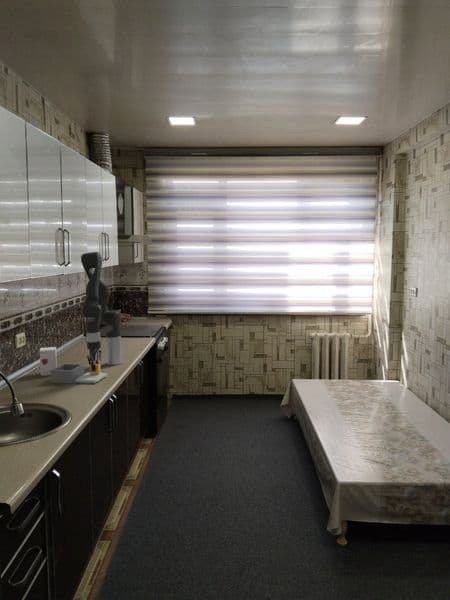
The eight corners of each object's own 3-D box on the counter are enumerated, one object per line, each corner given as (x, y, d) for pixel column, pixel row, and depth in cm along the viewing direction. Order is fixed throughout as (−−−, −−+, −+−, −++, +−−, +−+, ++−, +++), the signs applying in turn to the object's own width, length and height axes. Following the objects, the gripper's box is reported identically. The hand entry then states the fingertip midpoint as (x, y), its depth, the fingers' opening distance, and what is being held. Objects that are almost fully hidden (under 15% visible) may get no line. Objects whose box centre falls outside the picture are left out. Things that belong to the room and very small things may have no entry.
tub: (64, 375, 297) (64, 363, 296) (84, 376, 295) (83, 364, 294) (51, 382, 283) (50, 370, 282) (71, 383, 280) (71, 370, 280)
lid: (87, 376, 295) (87, 363, 294) (107, 376, 293) (106, 363, 292) (75, 383, 280) (74, 369, 279) (96, 384, 278) (95, 370, 277)
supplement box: (40, 376, 298) (38, 350, 296) (41, 372, 306) (40, 347, 305) (57, 374, 300) (55, 349, 299) (57, 371, 309) (56, 346, 307)
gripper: (92, 337, 296) (94, 367, 298) (81, 342, 283) (83, 373, 284) (105, 337, 295) (106, 367, 297) (94, 342, 281) (96, 373, 283)
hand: (95, 370), depth 291 cm, fingers open, 3 cm apart
